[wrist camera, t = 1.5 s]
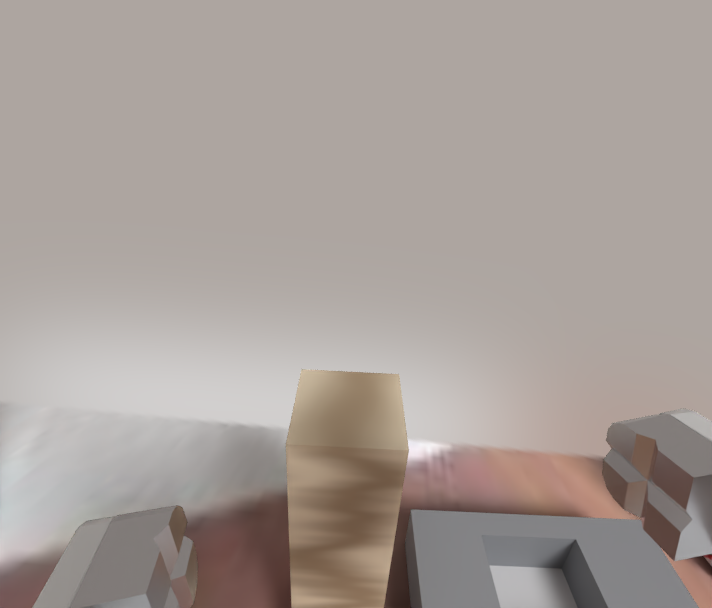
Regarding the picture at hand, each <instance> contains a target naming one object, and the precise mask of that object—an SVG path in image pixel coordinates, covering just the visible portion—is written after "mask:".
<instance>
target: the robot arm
mask: <svg viewBox="0 0 712 608" xmlns="http://www.w3.org/2000/svg"><path fill="white" fill-rule="evenodd" d="M606 441H607V442H608V444H609V445H610V446H611V448H612V449H611V450H610V452H609V453H608V454H607V455H606V457H605V458H604V459H603V471H602V474H603V477H604V480H605V484H606V487H607V489H608V490H609V492H610V494H611V495H612V497H613V498H614V500H615V501H616V502H617V503H618V504H619V505H620V506H621V507H622V508H623V509H624V510H626V511H628V512H630V513H632V514H634V515H636V516H639V517H641V521H642V527H643V530H644V531H645V532H646V533H647V534H648V535H649V536H650V537H651V538H652V539H653V540H654V541H655V542H656V543H657V544H658V545H659V546H660V547H661V548H662V549H663V550H664V551H665V552H666V553H667V554H668V555H669V556H670V557H671V558H672V559H673V560H674V561H678V560H683V559H688V558H693V557H698V556H703V555H708V554H712V421H710V420H708V419H707V418H705V417H704V416H702V415H700V414H698V413H697V412H695V411H692V410H688V409H679V410H674V411H670V412H664V413H660V414H659V415H651V416H647V417H642V418H636V419H631V420H626V421H621V422H616V423H613V424H612V425H611V426H610V428H609V429H608V432H607V438H606ZM186 525H187V520H186V517H185V514H184V511H183V508H182V507H180V506H171V507H165V508H159V509H153V510H147V511H141V512H135V513H129V514H123V515H118V516H116V517H109V518H103V519H96V520H90V521H86V522H85V523H84V524H82V525H81V526H80V527H79V528H78V529H77V530H76V532H75V534H74V536H73V537H72V539H71V541H70V543H69V544H68V546H67V548H66V550H65V551H64V553H63V555H62V557H61V558H60V560H59V562H58V564H57V565H56V567H55V569H54V571H53V572H52V574H51V576H50V578H49V579H48V581H47V583H46V585H45V587H44V588H43V590H42V592H41V594H40V595H39V597H38V599H37V601H36V602H35V604H34V606H33V608H190V607H191V606H192V604H193V603H194V599H195V593H196V588H197V574H198V563H197V555H196V550H195V546H194V543H193V541H192V540H190V539H189V538H187V537H186V536H184V533H185V529H186Z"/></svg>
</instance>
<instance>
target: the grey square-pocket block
mask: <svg viewBox="0 0 712 608" xmlns="http://www.w3.org/2000/svg"><path fill="white" fill-rule="evenodd" d="M405 550H406V560H407V571H408V582H409V592H410V603H411V608H699V607H698V605H697V604H696V602H695V601H694V599H693V598H692V596H691V595H690V593H689V591H688V590H687V588H686V587H685V585H684V584H683V582H682V581H681V579H680V577H679V576H678V574H677V573H676V571H675V570H674V568H673V567H672V565H671V563H670V562H669V560H668V559H667V557H666V556H665V554H664V553H663V551H662V549H661V548H660V546H659V545H658V544H657V543H656V542H655V541H654V540H653V539H652V538H651V537H650V536H649V535H648V534H647V533H646V532H645V531H644V530H643V527H642V521H641V520H629V519H607V518H585V517H564V516H542V515H521V514H499V513H477V512H456V511H434V510H412V509H411V512H410V517H409V523H408V529H407V534H406V540H405Z"/></svg>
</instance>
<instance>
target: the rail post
mask: <svg viewBox="0 0 712 608" xmlns="http://www.w3.org/2000/svg"><path fill="white" fill-rule="evenodd" d="M408 451H409V449H408V441H407V433H406V425H405V417H404V410H403V402H402V395H401V387H400V378H399V375H398V374H382V373H363V372H343V371H324V370H303V369H302V370H301V374H300V379H299V384H298V389H297V394H296V398H295V403H294V408H293V413H292V417H291V423H290V427H289V432H288V436H287V441H286V464H287V492H288V521H289V550H290V578H291V607H292V608H384V603H385V597H386V591H387V584H388V578H389V572H390V565H391V559H392V553H393V546H394V540H395V534H396V527H397V521H398V515H399V508H400V502H401V496H402V489H403V483H404V477H405V470H406V464H407V458H408Z"/></svg>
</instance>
